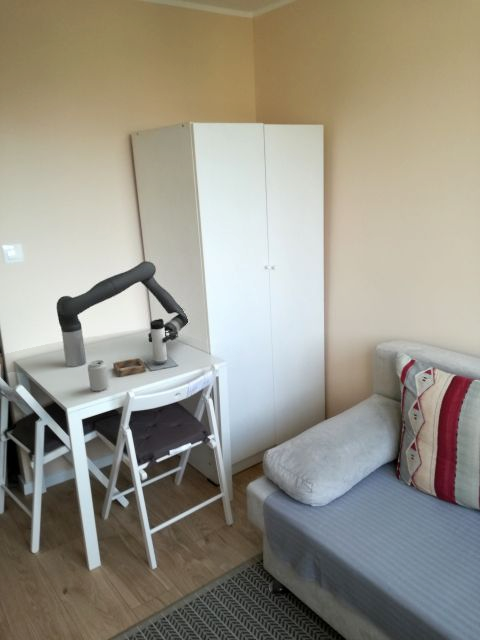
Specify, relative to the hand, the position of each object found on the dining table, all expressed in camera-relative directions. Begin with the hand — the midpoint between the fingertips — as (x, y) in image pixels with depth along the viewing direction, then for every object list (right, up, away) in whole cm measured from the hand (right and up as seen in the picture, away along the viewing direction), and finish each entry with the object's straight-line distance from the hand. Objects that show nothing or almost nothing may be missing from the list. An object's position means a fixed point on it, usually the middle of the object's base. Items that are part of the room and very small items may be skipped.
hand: (156, 340), depth 236 cm
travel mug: (+1, -10, +5) cm, 11 cm away
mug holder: (-13, -14, 0) cm, 19 cm away
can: (-21, -20, -19) cm, 35 cm away
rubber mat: (+1, -12, +6) cm, 13 cm away
